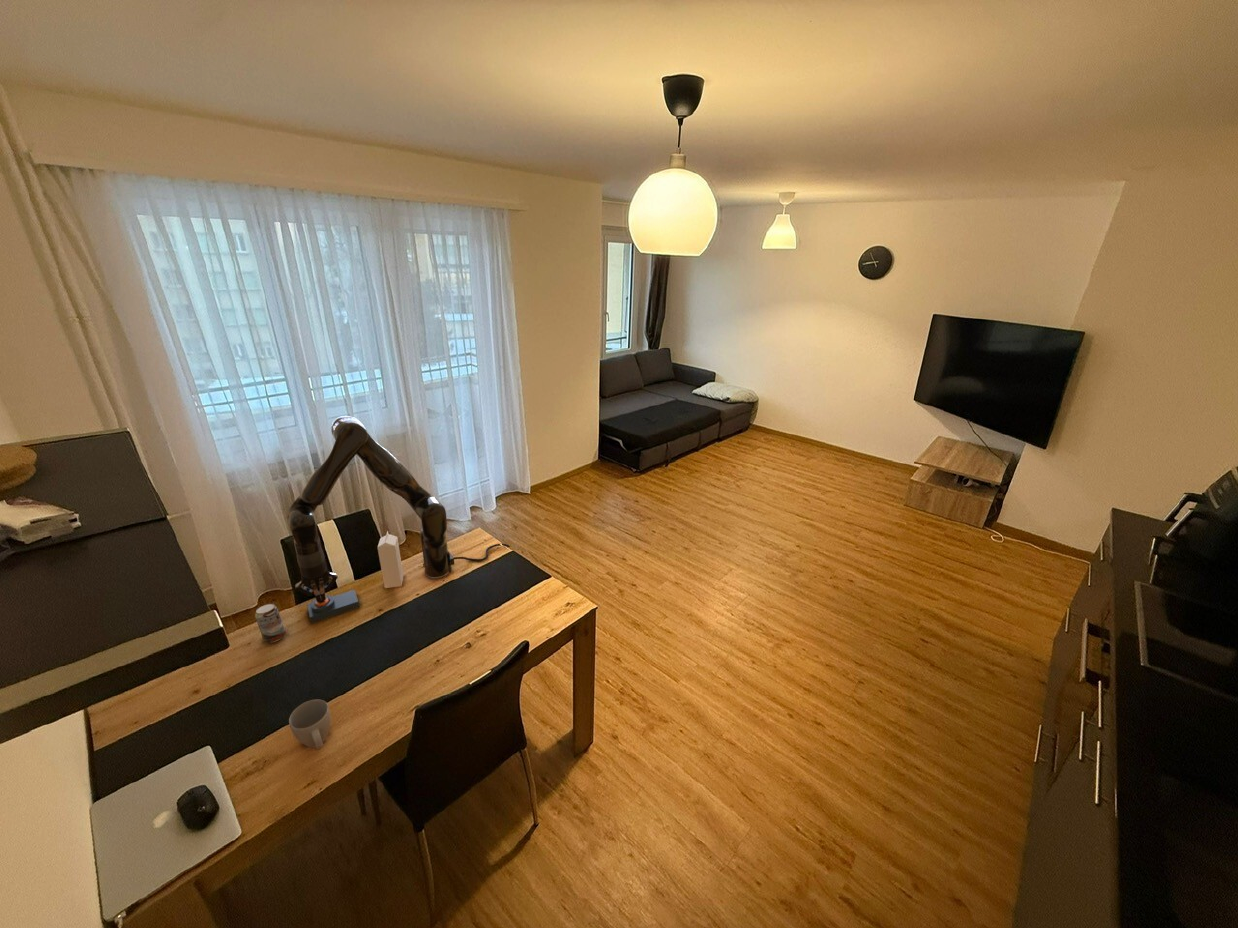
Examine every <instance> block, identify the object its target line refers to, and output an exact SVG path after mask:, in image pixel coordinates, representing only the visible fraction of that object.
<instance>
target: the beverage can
mask: <svg viewBox="0 0 1238 928" xmlns="http://www.w3.org/2000/svg"><path fill="white" fill-rule="evenodd" d="M254 617H255V620H256V623H257V626H258V629H259V631H260V635H261V638H262V640H263V642H264V643H268V644H269V643H270V644H272V643H275V642H278V641H279V640H281V639H283V637H284V636H285V635H286V630H285V627H284V623H283V620H282V617H281V615H280V611H279V609H278V607H277V606H275V604H274V603H267V604H264V605H262V606H259V607H258V608H257V609H256V610H255V614H254Z"/></svg>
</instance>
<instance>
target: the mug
mask: <svg viewBox="0 0 1238 928" xmlns="http://www.w3.org/2000/svg"><path fill="white" fill-rule="evenodd" d="M331 719H332V718H331V710H330V707H329V704H328V703H327V701H325V700H323V699H319V698H315V699H314V698H313V699H310V700H307V701H304V702H302V703H301V704H299V705H298V706H297V707H296V708H295V709H293V711H292V712H291V713H290V716H289V718H288V725H289V728H290V731H291V733H292V734H293V736H294V738H295V739H296V740H297V741H298V742H299V743H300V744H302V745H303V746H305V747H307V748H315V750H317V751H319V750H321V749H323V747H324V742H325V741H326V740H327V738H328V735H329V732H330V728H331Z"/></svg>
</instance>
